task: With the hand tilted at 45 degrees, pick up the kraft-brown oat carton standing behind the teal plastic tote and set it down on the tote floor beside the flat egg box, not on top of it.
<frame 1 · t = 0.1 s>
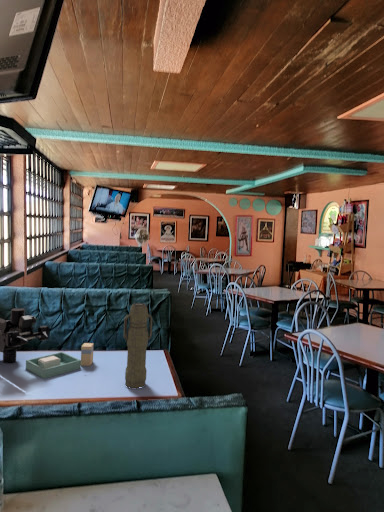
hand: (37, 340, 155), 17 cm above the table, tool horizontal, fingers open, 9 cm apart
egg box: (48, 365, 168), point 1 cm above the table, touching tote
thermos: (135, 385, 154), on the table
oat carton: (86, 365, 174), on the table
tote: (53, 369, 166), on the table
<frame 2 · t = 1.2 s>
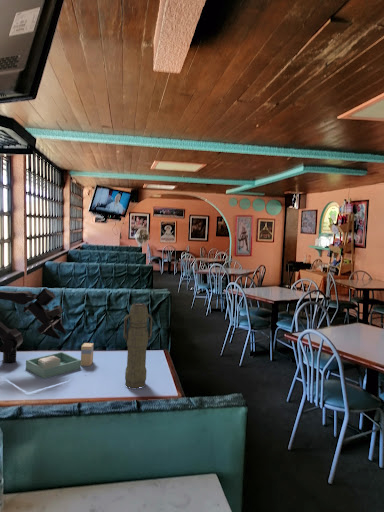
hand: (62, 335, 172), 14 cm above the table, tool tilted 45°, fingers open, 9 cm apart
nothing on the table moved.
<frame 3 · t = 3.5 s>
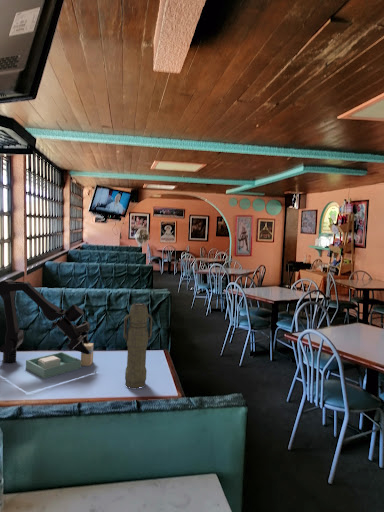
hand: (90, 351, 174), 7 cm above the table, tool tilted 45°, fingers closed on oat carton, 5 cm apart
oat carton: (86, 365, 174), on the table, touching gripper
everything else where it was.
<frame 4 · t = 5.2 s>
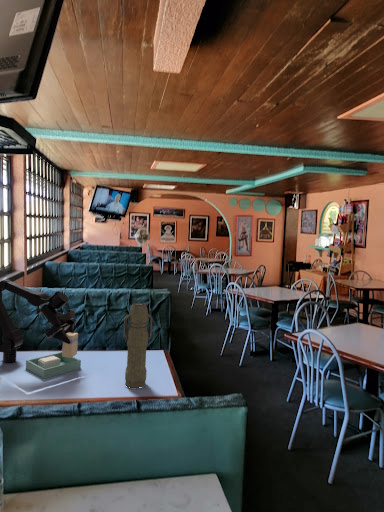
hand: (73, 341, 166), 13 cm above the table, tool tilted 45°, fingers closed on oat carton, 5 cm apart
oat carton: (69, 355, 167), point 7 cm above the table, touching gripper
everything else where it was.
when the fingers open (9 cm above the table, at t = 6.9 s): oat carton drops 1 cm, resting on tote.
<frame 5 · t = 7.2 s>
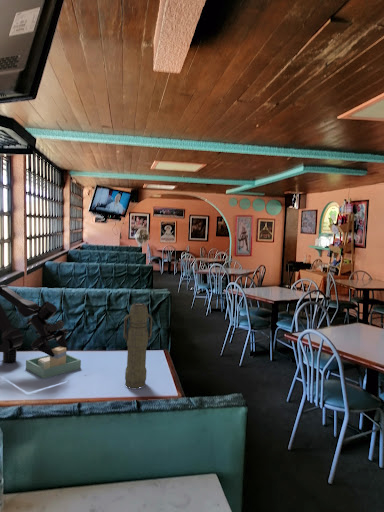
hand: (60, 353, 163), 9 cm above the table, tool tilted 45°, fingers open, 9 cm apart
oat carton: (57, 370, 164), point 1 cm above the table, touching tote
everything else where it was.
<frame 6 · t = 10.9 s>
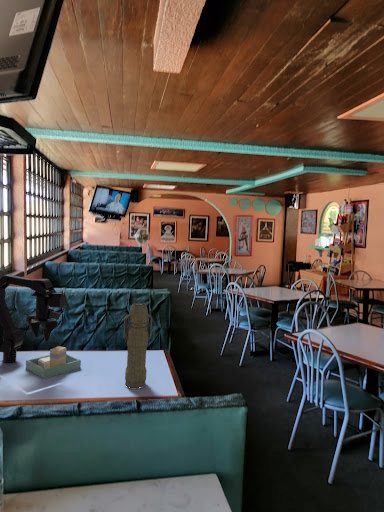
hand: (41, 339, 169), 13 cm above the table, tool pointing down, fingers open, 9 cm apart
nothing on the table moved.
at the end: oat carton inside the target area (0.0 cm from its centre), point 0.8 cm above the table; oat carton tilted 0°; egg box moved 0.1 cm from its start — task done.
